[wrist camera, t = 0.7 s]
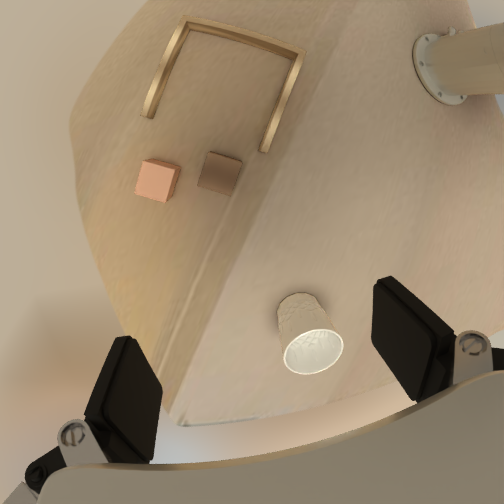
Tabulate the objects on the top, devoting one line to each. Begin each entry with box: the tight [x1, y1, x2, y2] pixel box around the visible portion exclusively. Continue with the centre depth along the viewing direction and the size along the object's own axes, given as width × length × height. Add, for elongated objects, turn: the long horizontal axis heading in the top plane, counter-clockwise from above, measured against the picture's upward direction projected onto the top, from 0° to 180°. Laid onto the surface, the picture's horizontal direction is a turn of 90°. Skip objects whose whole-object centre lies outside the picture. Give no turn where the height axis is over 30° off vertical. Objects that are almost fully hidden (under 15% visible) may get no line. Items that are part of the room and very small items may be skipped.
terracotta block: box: [134, 159, 181, 203], centre depth 32 cm, size 4×4×4 cm
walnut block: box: [197, 151, 242, 196], centre depth 32 cm, size 4×4×4 cm
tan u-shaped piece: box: [140, 15, 307, 153], centre depth 28 cm, size 14×16×3 cm
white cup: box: [277, 293, 343, 374], centre depth 38 cm, size 8×8×10 cm
